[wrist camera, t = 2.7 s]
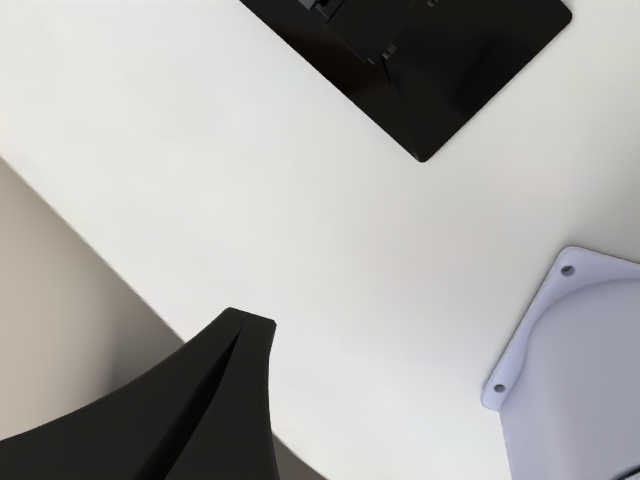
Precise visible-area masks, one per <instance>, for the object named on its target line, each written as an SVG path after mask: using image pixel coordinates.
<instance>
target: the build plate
mask: <svg viewBox="0 0 640 480" xmlns="http://www.w3.org/2000/svg"><path fill="white" fill-rule="evenodd" d="M240 1H241V2H242V3H243V4H244V5H245V6H246V7H247V8H249V9H250V10H251V11H252V12H253V13H254V14H255V15H256V16H257V17H259V18H260V19H261V20H262V21H263V22H264V23H265V24H266V25H267V26H269V27H270V28H271V29H272V30H273V31H274V32H275V33H276V34H277V35H279V36H280V37H281V38H282V39H283V40H284V41H285V42H286V43H287V44H289V45H290V46H291V47H292V48H293V49H294V50H295V51H296V52H297V53H299V54H300V55H301V56H302V57H303V58H304V59H305V60H306V61H307V62H309V63H310V64H311V65H312V66H313V67H314V68H315V69H316V70H317V71H319V72H320V73H321V74H322V75H323V76H324V77H325V78H326V79H327V80H329V81H330V82H331V83H332V84H333V85H334V86H335V87H336V88H337V89H339V90H340V91H341V92H342V93H343V94H344V95H345V96H346V97H347V98H349V99H350V100H351V101H352V102H353V103H354V104H355V105H356V106H357V107H359V108H360V109H361V110H362V111H363V112H364V113H365V114H366V115H367V116H369V117H370V118H371V119H372V120H373V121H374V122H375V123H376V124H377V125H379V126H380V127H381V128H382V129H383V130H384V131H385V132H386V133H387V134H389V135H390V136H391V137H392V138H393V139H394V140H395V141H396V142H397V143H399V144H400V145H401V146H402V147H403V148H404V149H405V150H406V151H407V152H409V153H410V154H411V155H412V156H413V157H414V158H415V159H416V160H417V161H419V162H426V161H427V160H428V159H429V158H431V157H432V156H433V155H434V154H435V153H436V152H437V151H438V150H439V149H440V148H441V147H442V146H443V145H444V144H445V143H446V142H447V141H448V140H449V139H450V138H451V137H452V136H453V135H454V134H455V133H456V132H457V131H458V130H459V129H460V128H461V127H462V126H464V125H465V124H466V123H467V122H468V121H469V120H470V119H471V118H472V117H473V116H474V115H475V114H476V113H477V112H478V111H479V110H480V109H481V108H482V107H483V106H484V105H485V104H486V103H487V102H488V101H489V100H490V99H491V98H492V97H493V96H494V95H495V94H497V93H498V92H499V91H500V90H501V89H502V88H503V87H504V86H505V85H506V84H507V83H508V82H509V81H510V80H511V79H512V78H513V77H514V76H515V75H516V74H517V73H518V72H519V71H520V70H521V69H522V68H523V67H524V66H525V65H526V64H527V63H529V62H530V61H531V60H532V59H533V58H534V57H535V56H536V55H537V54H538V53H539V52H540V51H541V50H542V49H543V48H544V47H545V46H546V45H547V44H548V43H549V42H550V41H551V40H552V39H553V38H554V37H555V36H556V35H557V34H558V33H559V32H560V31H562V30H563V29H564V28H565V27H566V26H567V25H568V24H569V23H570V21H571V19H572V13H571V11H570V10H569V9H568V8H567V7H566V6H565V5H564V4H563V3H562V2H561V0H240Z"/></svg>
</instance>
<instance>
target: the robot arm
mask: <svg viewBox="0 0 640 480" xmlns="http://www.w3.org/2000/svg"><path fill="white" fill-rule="evenodd" d="M565 266H572V268H571V269H570V270H569V271H561V270H562V268H563V267H565ZM276 325H277V324H276V323H275V321H274V320H272V319H268V318H265V317H262V316H258V315H255V314H251V313H248V312H245V311H242V310H238V309H235V308H231V307H229V308H227V309H225V310H224V311H223V312H222V313H221V314H220V315H219V316H218V317H217V318H215V319H214V320H213V321H212V322H211V323H210V324H209V325H208V326H207V327H205V328H204V329H203V330H202V331H201V332H199V333H198V334H197V335H196V336H195V337H193V338H192V339H191V340H189V341H188V342H187V343H186V344H184V345H183V346H182V347H181V348H179V349H178V350H177V351H176V352H174V353H173V354H171V355H170V356H168V357H167V358H166V359H164V360H163V361H161V362H160V363H159V364H157V365H156V366H154V367H153V368H151V369H150V370H148V371H147V372H145V373H144V374H142V375H140V376H139V377H138V378H136V379H134V380H133V381H131V382H129V383H127V384H126V385H124V386H122V387H121V388H119V389H117V390H115V391H113V392H111V393H110V394H108V395H106V396H104V397H102V398H100V399H98V400H96V401H94V402H92V403H90V404H89V405H86V406H84V407H82V408H80V409H78V410H76V411H74V412H72V413H69V414H67V415H65V416H62V417H60V418H58V419H55V420H53V421H51V422H48V423H46V424H44V425H41V426H39V427H37V428H34V429H32V430H29V431H26V432H24V433H21V434H18V435H15V436H12V437H10V438H7V439H4V440H1V441H0V480H280V478H279V473H278V468H277V464H276V458H275V452H274V446H273V439H272V431H271V423H270V411H269V393H268V375H269V355H270V351H271V347H272V343H273V338H274V334H275V330H276ZM498 384H501V385H502V386H500V387H498V386H496V385H498ZM480 400H481V404H482V405H483V406H484V407H485V408H487V409H491V410H494V411H497V412H499V413H500V418H501V423H502V429H503V434H504V440H505V445H506V450H507V456H508V461H509V466H510V472H511V477H512V480H640V264H637V263H633V262H630V261H626V260H622V259H619V258H615V257H612V256H608V255H605V254H601V253H598V252H594V251H591V250H587V249H584V248H580V247H575V246H571V247H567V248H565V249H563V250H562V251H561V252H560V254H559V255H558V257H557V259H556V261H555V263H554V264H553V266H552V268H551V270H550V272H549V273H548V275H547V277H546V279H545V280H544V282H543V284H542V286H541V288H540V289H539V291H538V293H537V295H536V297H535V298H534V300H533V302H532V304H531V305H530V307H529V309H528V311H527V313H526V314H525V316H524V318H523V320H522V322H521V323H520V325H519V327H518V329H517V331H516V332H515V334H514V336H513V338H512V339H511V341H510V343H509V345H508V347H507V348H506V350H505V352H504V354H503V356H502V357H501V359H500V361H499V363H498V364H497V366H496V368H495V370H494V372H493V373H492V375H491V377H490V379H489V381H488V382H487V384H486V386H485V388H484V390H483V391H482V393H481V396H480Z"/></svg>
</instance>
